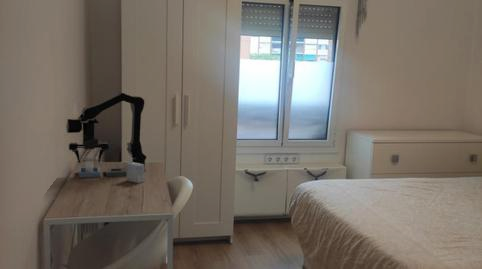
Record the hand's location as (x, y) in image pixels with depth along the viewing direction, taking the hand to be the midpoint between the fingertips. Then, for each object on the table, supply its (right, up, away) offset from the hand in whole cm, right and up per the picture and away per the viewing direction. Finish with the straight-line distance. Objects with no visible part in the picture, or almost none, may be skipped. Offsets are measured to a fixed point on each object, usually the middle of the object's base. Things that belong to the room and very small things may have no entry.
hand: (89, 162), depth 222 cm
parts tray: (0, -6, +1) cm, 6 cm away
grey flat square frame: (+12, -6, +5) cm, 14 cm away
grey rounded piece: (0, -6, +1) cm, 6 cm away
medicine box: (+25, -9, -8) cm, 28 cm away
